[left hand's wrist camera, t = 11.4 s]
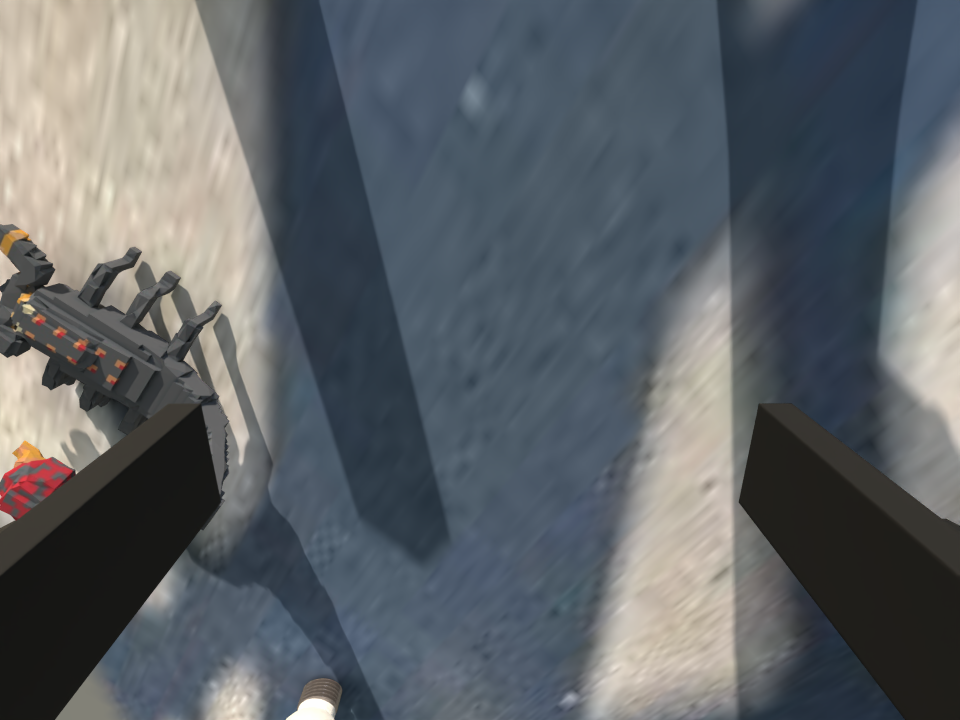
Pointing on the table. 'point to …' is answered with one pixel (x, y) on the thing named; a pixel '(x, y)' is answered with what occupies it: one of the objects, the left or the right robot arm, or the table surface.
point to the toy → (96, 358)
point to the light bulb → (318, 701)
